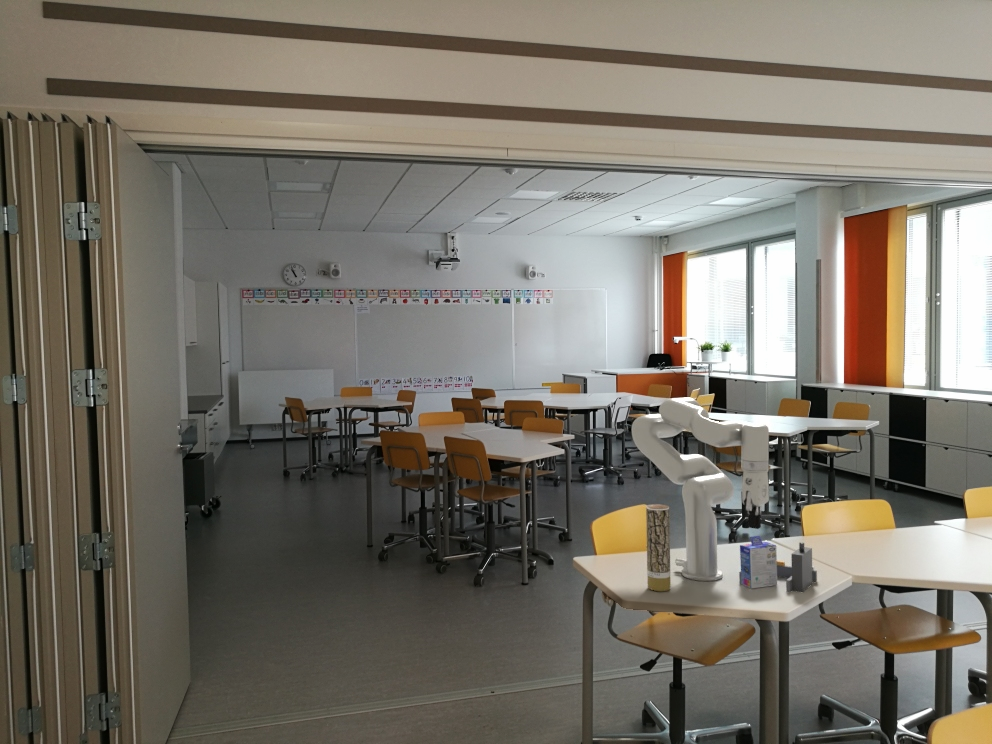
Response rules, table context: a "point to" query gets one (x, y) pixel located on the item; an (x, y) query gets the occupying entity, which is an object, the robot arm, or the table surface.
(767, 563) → the ink cartridge box
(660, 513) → the paper tube
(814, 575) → the grey bracket fixture
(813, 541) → the table surface
